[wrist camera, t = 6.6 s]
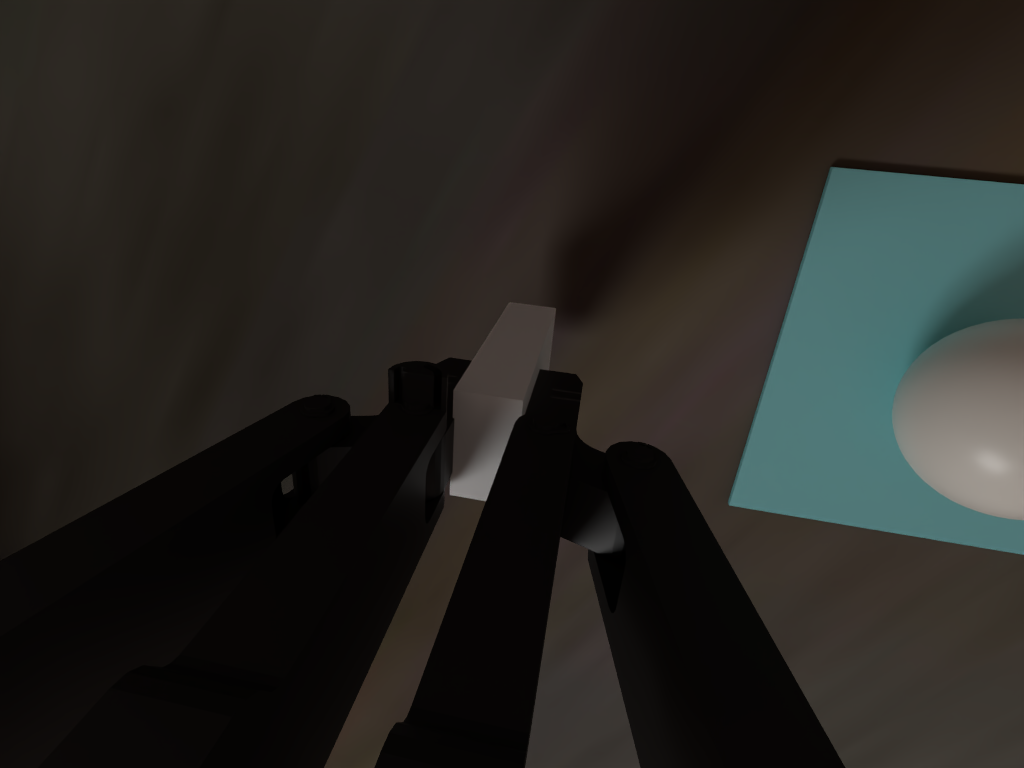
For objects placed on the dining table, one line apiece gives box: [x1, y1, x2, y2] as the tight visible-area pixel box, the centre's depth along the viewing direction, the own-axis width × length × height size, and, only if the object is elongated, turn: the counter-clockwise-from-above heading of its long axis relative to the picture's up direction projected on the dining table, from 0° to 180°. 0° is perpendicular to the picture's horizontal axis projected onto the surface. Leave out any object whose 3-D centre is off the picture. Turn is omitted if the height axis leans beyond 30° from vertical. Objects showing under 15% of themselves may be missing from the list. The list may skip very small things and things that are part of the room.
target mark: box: [728, 167, 1024, 555], centre depth 18 cm, size 12×12×1 cm
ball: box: [892, 318, 1024, 520], centre depth 15 cm, size 6×6×6 cm
